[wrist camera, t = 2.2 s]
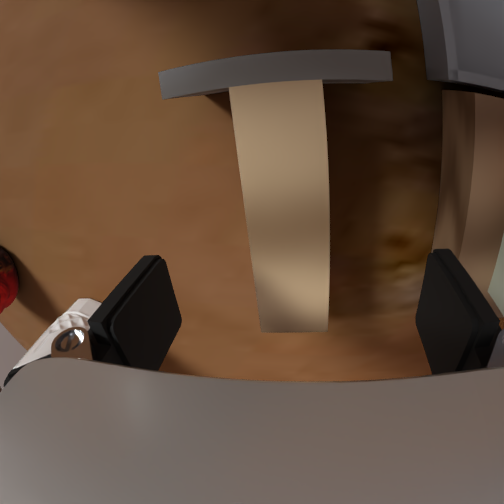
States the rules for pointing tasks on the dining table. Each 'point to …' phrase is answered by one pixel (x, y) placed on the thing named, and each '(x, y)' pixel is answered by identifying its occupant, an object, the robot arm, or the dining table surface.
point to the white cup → (61, 328)
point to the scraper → (283, 166)
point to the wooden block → (472, 184)
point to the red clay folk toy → (7, 280)
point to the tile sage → (498, 280)
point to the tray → (464, 42)
